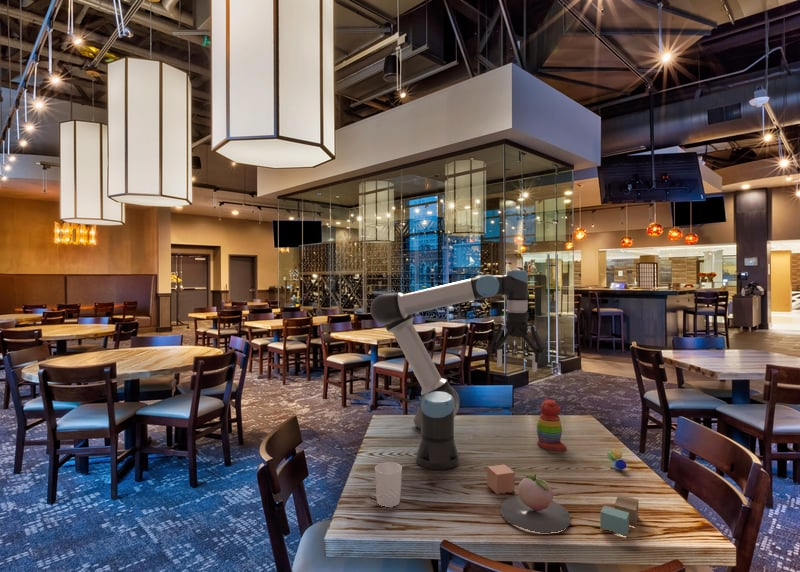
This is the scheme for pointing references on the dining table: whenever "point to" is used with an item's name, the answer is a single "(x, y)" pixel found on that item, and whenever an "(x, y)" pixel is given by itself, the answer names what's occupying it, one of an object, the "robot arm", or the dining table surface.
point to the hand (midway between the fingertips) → (516, 369)
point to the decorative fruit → (535, 492)
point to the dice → (614, 456)
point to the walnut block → (628, 507)
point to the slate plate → (535, 516)
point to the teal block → (614, 520)
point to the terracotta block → (501, 479)
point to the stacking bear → (550, 427)
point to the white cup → (388, 483)
